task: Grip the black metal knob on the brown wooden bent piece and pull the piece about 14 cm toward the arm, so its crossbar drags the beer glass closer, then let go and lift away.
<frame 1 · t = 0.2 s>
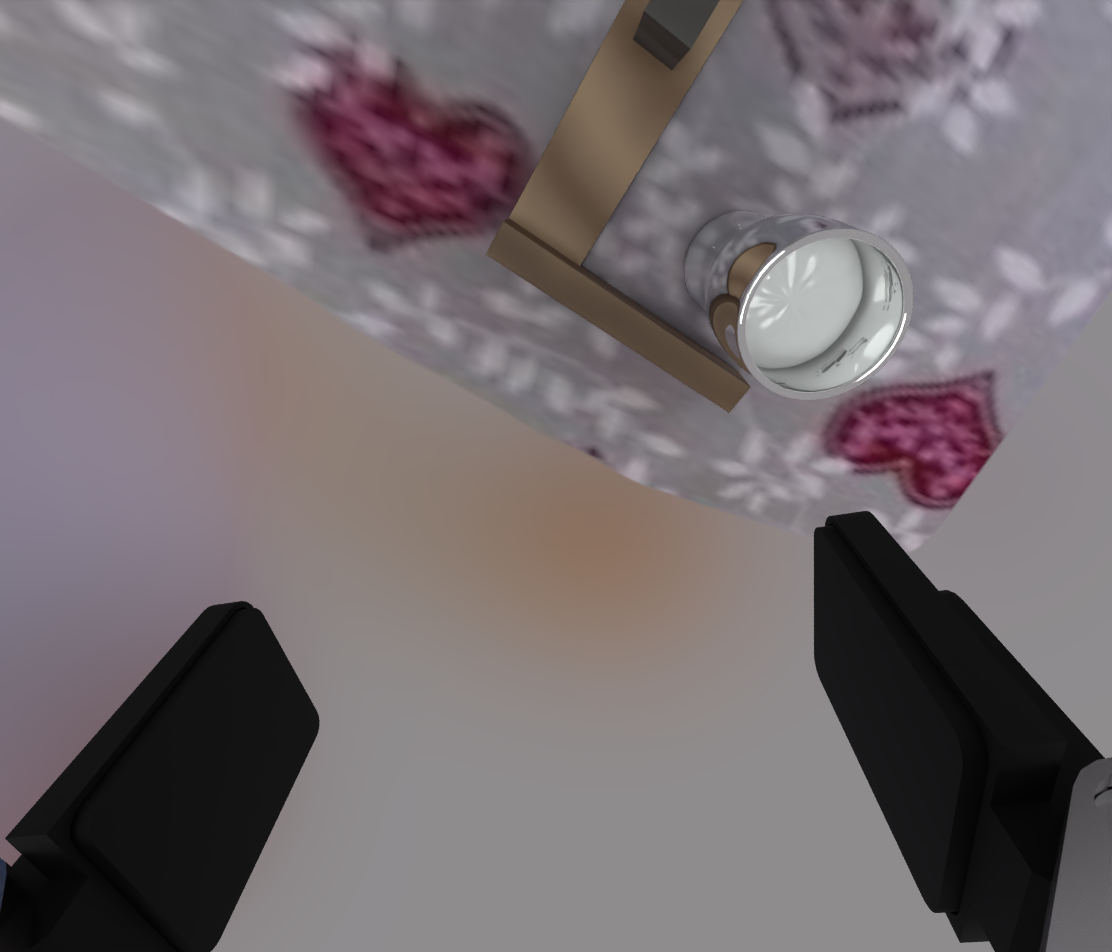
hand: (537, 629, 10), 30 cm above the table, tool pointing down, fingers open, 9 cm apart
beer glass: (732, 264, 36), on the table
brown wooden bent piece: (761, 120, 29), point 3 cm above the table, slide at 0.0 cm
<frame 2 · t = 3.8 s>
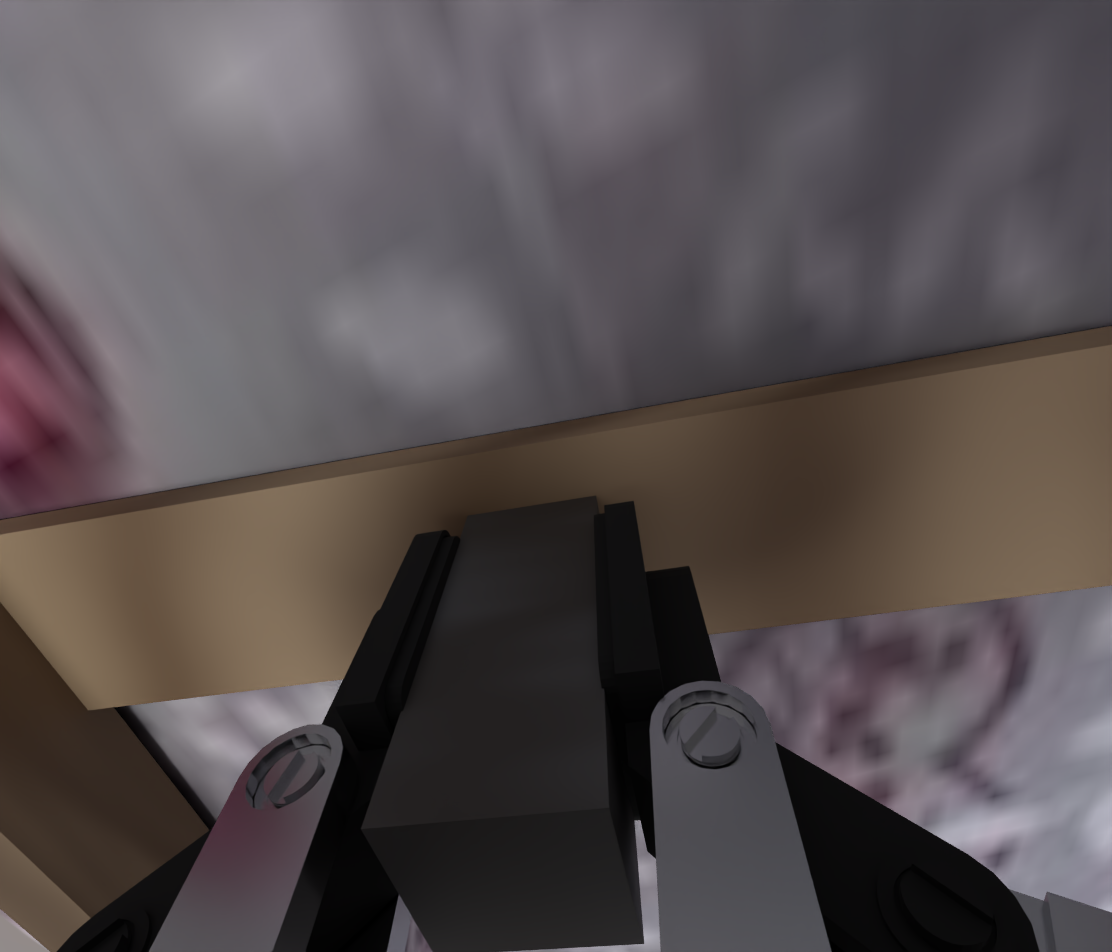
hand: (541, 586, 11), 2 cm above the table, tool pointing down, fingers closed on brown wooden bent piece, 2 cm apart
beer glass: (397, 844, 18), on the table
brown wooden bent piece: (553, 880, 12), point 3 cm above the table, slide at 0.0 cm, touching gripper
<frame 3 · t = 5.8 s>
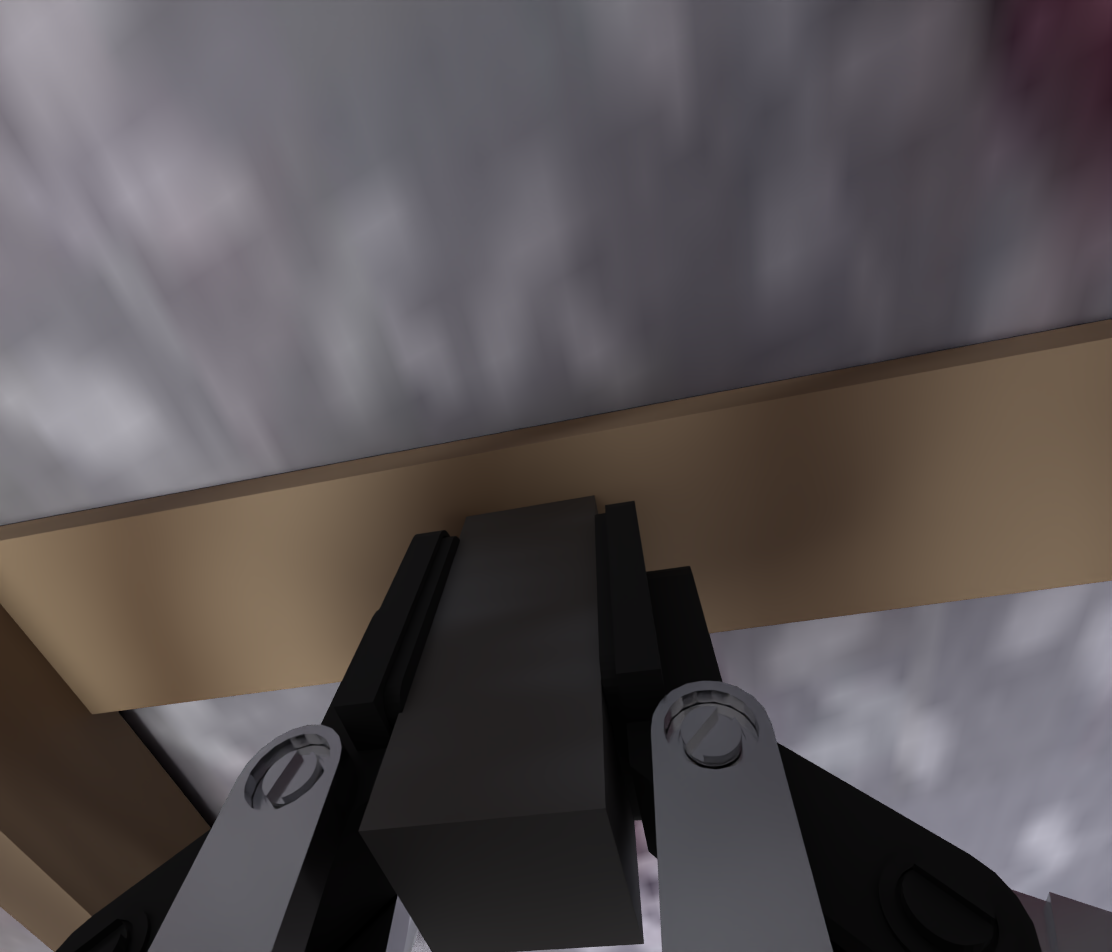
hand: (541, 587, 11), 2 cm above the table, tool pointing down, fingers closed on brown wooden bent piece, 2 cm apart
brown wooden bent piece: (556, 880, 12), point 3 cm above the table, slide at 7.0 cm, touching beer glass, gripper
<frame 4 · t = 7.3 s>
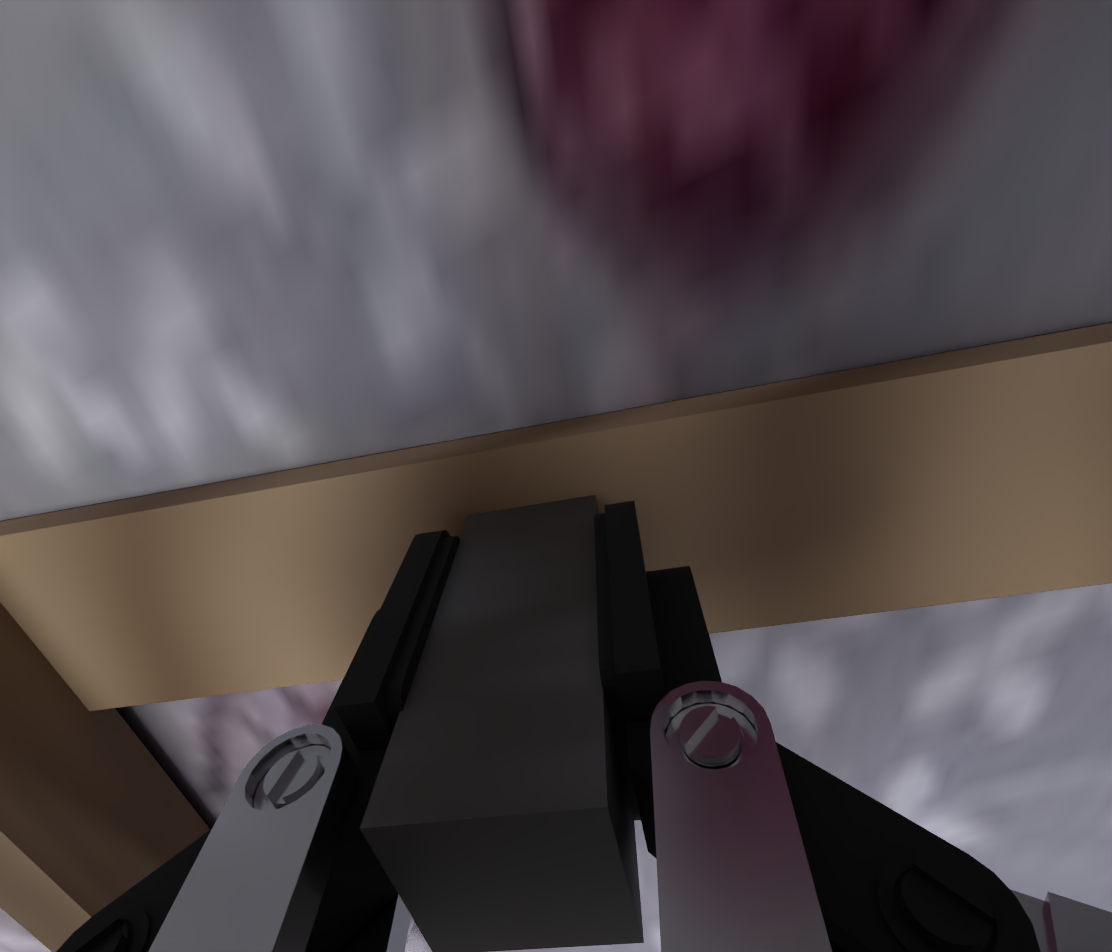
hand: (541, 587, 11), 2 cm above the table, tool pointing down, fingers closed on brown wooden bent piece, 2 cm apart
brown wooden bent piece: (553, 879, 12), point 3 cm above the table, slide at 13.8 cm, touching beer glass, gripper
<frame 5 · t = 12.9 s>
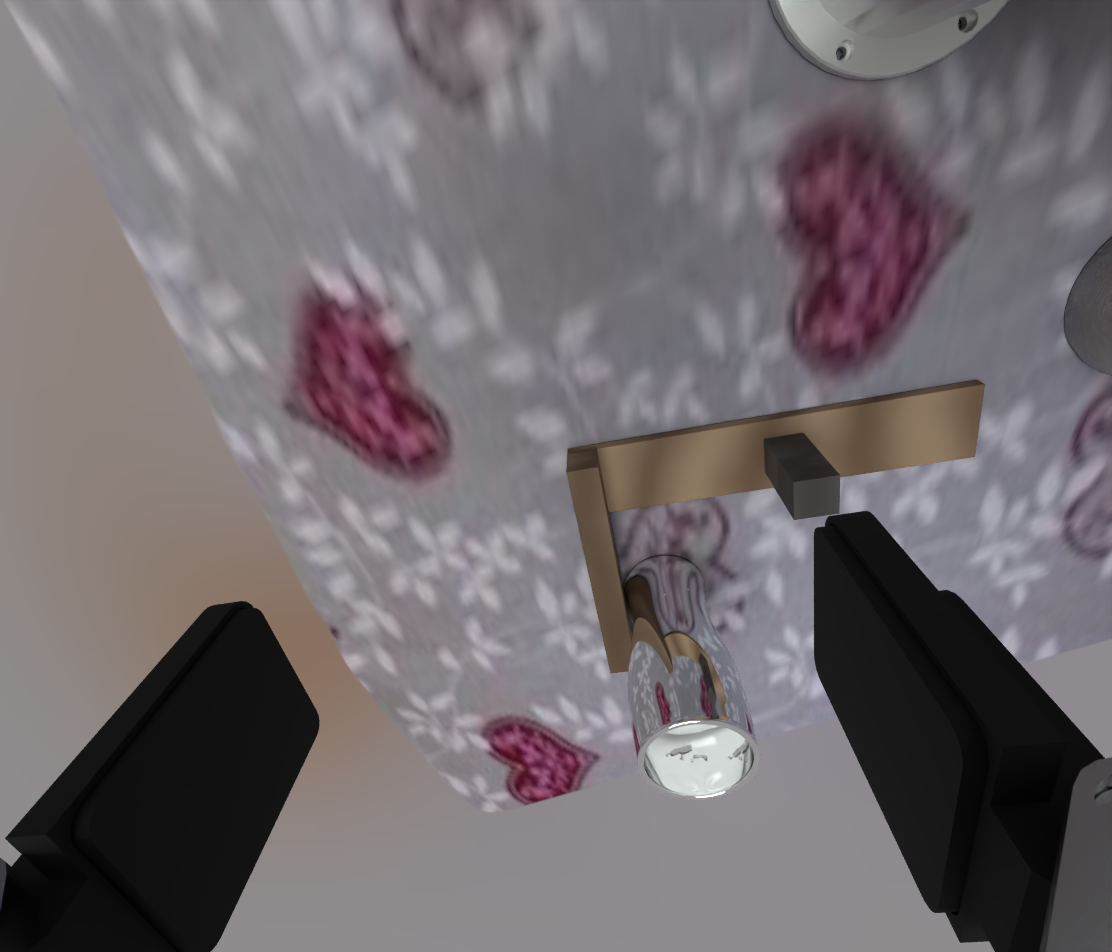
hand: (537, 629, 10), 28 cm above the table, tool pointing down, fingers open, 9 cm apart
beer glass: (663, 585, 44), on the table
brown wooden bent piece: (782, 555, 38), point 3 cm above the table, slide at 14.0 cm
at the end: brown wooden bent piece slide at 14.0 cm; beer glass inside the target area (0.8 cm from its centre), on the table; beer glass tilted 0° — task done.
